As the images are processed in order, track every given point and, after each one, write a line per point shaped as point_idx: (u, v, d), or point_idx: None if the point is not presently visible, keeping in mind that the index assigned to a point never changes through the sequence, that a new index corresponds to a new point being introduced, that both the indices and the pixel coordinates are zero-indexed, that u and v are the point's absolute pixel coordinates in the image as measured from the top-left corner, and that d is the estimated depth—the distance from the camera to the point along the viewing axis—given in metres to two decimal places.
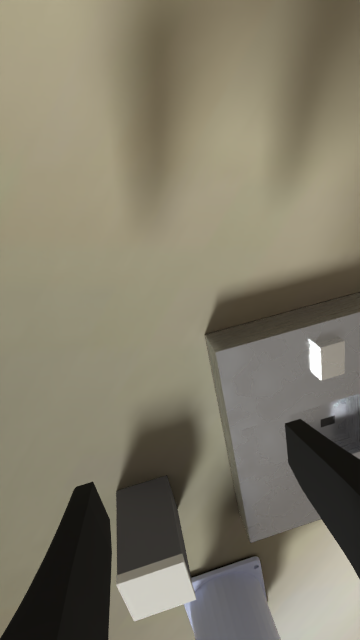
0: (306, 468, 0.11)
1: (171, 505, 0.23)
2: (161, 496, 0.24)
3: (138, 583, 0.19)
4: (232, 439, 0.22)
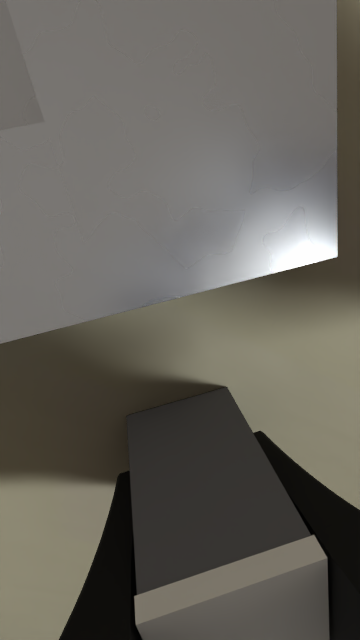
0: None
1: (130, 472, 0.10)
2: None
3: None
4: None
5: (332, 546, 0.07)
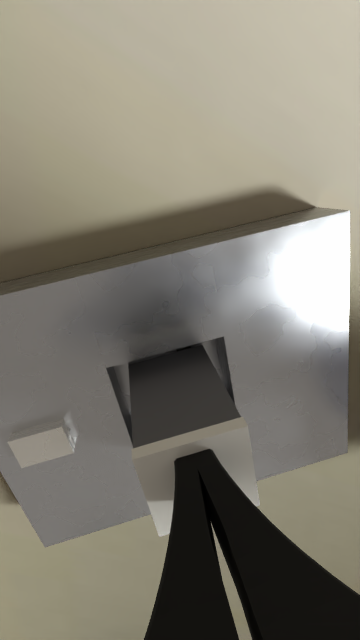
0: (206, 500, 0.11)
1: (130, 395, 0.15)
2: None
3: (166, 512, 0.12)
4: None
5: (248, 575, 0.07)
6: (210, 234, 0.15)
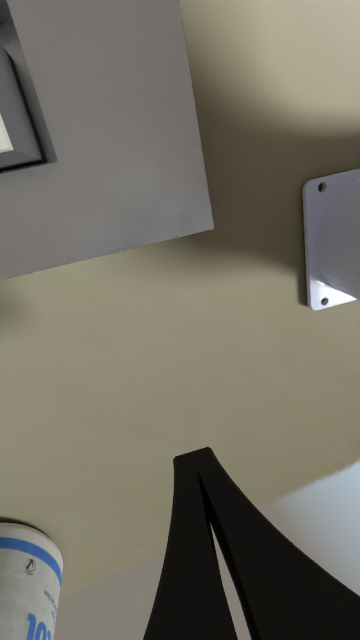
0: (206, 500, 0.11)
1: None
2: None
3: None
4: None
5: (247, 576, 0.07)
6: None
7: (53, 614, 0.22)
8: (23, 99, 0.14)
